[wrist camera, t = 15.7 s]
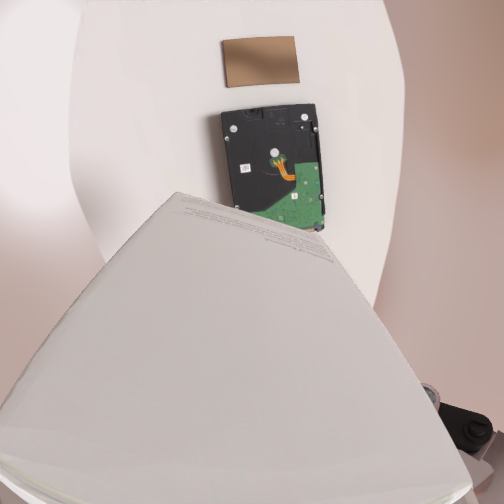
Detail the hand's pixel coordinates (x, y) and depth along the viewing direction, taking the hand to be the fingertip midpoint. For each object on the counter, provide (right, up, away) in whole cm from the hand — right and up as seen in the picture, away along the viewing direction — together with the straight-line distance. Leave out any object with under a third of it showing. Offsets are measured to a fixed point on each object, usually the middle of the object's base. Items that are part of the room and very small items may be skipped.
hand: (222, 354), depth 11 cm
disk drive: (+4, +13, +22) cm, 26 cm away
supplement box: (0, +3, +4) cm, 5 cm away
